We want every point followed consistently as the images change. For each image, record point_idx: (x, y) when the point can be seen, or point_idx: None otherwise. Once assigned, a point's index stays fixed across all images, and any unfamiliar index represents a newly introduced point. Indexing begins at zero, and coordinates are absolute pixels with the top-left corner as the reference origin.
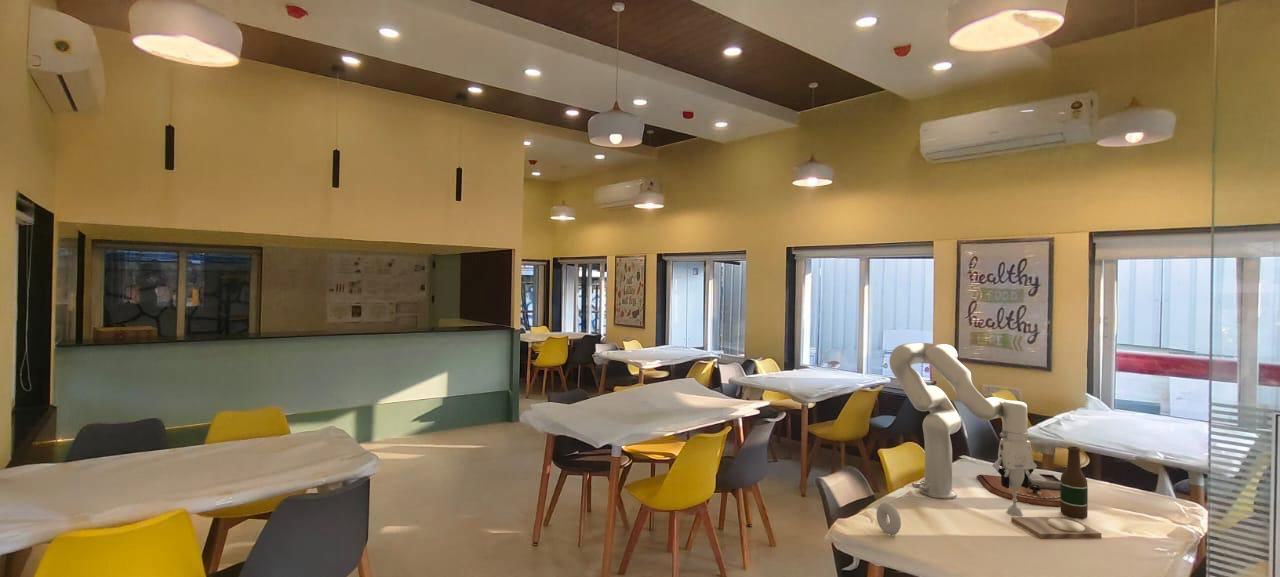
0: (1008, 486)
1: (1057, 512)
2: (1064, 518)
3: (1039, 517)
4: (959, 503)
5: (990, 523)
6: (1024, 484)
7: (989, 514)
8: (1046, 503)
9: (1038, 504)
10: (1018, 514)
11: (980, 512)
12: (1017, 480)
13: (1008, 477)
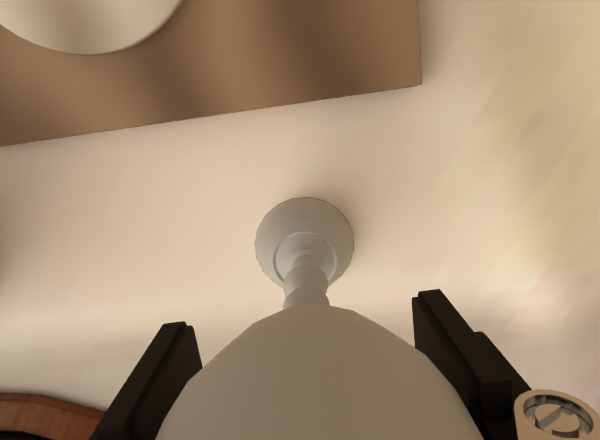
0: (432, 297)
1: (4, 299)
2: (14, 102)
3: (200, 102)
4: (570, 387)
5: (592, 29)
6: (186, 366)
7: (488, 213)
8: (17, 411)
9: (72, 408)
10: (301, 206)
11: (529, 244)
12: (338, 318)
13: (492, 377)
